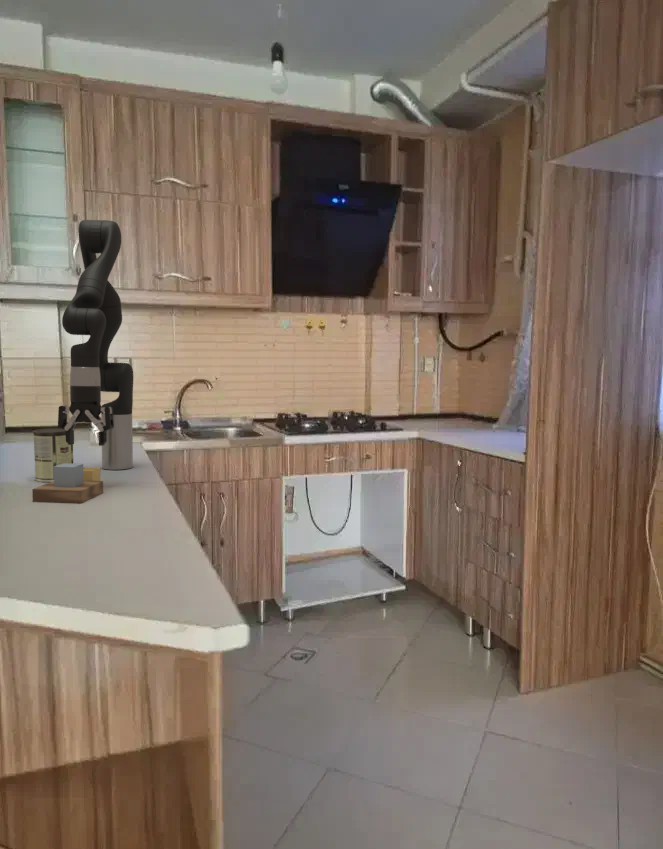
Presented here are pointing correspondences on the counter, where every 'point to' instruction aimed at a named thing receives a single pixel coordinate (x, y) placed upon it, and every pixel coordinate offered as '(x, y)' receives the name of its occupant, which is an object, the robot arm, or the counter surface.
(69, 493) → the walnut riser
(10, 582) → the counter surface
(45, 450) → the coffee can
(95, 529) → the counter surface
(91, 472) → the ochre block
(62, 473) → the slate block
